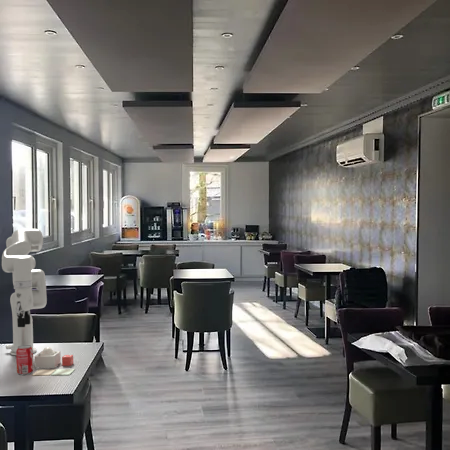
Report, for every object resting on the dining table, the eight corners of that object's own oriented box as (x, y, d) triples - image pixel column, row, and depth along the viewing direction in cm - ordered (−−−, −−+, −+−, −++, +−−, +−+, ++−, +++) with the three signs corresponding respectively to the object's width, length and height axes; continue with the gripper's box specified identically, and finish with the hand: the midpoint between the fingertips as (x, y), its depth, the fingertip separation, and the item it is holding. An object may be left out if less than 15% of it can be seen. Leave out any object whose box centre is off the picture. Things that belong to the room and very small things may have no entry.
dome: (38, 360, 247) (38, 349, 247) (43, 356, 253) (43, 345, 253) (52, 360, 247) (52, 348, 246) (56, 356, 253) (56, 345, 253)
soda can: (29, 370, 243) (28, 343, 243) (36, 373, 238) (35, 346, 238) (14, 373, 238) (13, 346, 238) (20, 376, 233) (20, 349, 233)
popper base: (34, 368, 245) (34, 356, 245) (41, 362, 254) (41, 351, 254) (54, 368, 245) (54, 356, 245) (60, 362, 254) (60, 351, 254)
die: (62, 365, 249) (61, 356, 249) (64, 363, 253) (64, 354, 253) (70, 365, 249) (70, 356, 249) (73, 363, 253) (73, 354, 253)
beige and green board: (31, 375, 234) (31, 374, 234) (38, 370, 242) (38, 369, 242) (69, 375, 234) (69, 374, 234) (74, 369, 242) (74, 369, 242)
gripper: (23, 287, 229) (24, 329, 229) (38, 282, 246) (39, 321, 246) (6, 287, 229) (7, 329, 229) (22, 282, 246) (23, 321, 246)
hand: (24, 325), depth 238 cm, fingers open, 4 cm apart
